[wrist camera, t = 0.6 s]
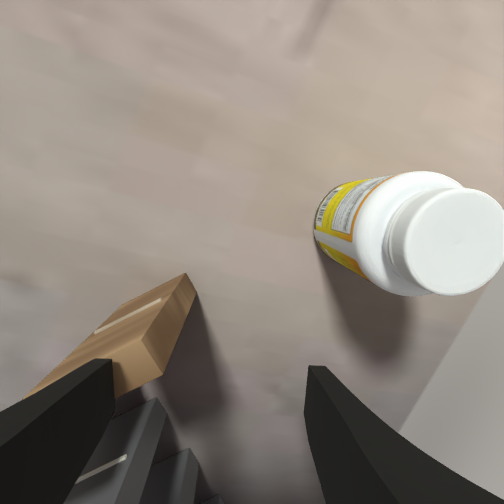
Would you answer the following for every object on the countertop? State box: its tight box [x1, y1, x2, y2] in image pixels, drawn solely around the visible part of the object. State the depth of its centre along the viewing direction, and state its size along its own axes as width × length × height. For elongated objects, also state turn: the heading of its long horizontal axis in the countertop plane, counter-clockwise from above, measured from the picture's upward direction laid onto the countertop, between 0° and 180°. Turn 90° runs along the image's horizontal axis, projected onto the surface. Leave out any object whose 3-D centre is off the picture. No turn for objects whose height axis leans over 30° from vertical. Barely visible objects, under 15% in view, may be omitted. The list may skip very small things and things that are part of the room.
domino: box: [63, 397, 167, 504], centre depth 18 cm, size 2×5×10 cm, turn 117°
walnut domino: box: [22, 273, 197, 400], centre depth 16 cm, size 2×5×10 cm, turn 117°
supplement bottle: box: [313, 171, 504, 296], centre depth 16 cm, size 6×6×10 cm
